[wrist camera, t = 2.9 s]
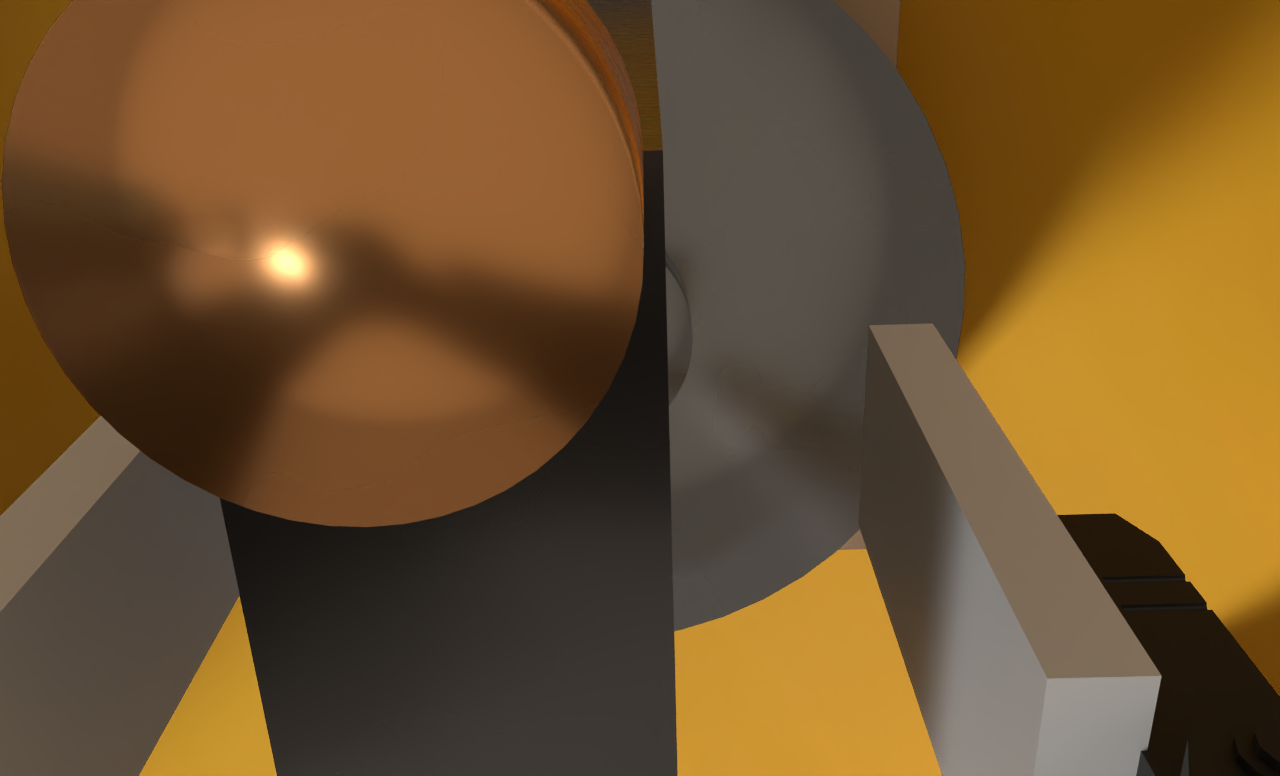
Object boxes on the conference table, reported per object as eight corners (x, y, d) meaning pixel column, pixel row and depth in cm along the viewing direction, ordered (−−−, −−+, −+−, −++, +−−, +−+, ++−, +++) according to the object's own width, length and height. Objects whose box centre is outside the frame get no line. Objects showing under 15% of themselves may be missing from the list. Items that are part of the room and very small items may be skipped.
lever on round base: (269, 616, 21) (-240, 1633, 9) (129, -102, 16) (-1465, -32, 4) (922, 599, 21) (1316, 1614, 9) (983, -132, 16) (2093, -152, 4)
